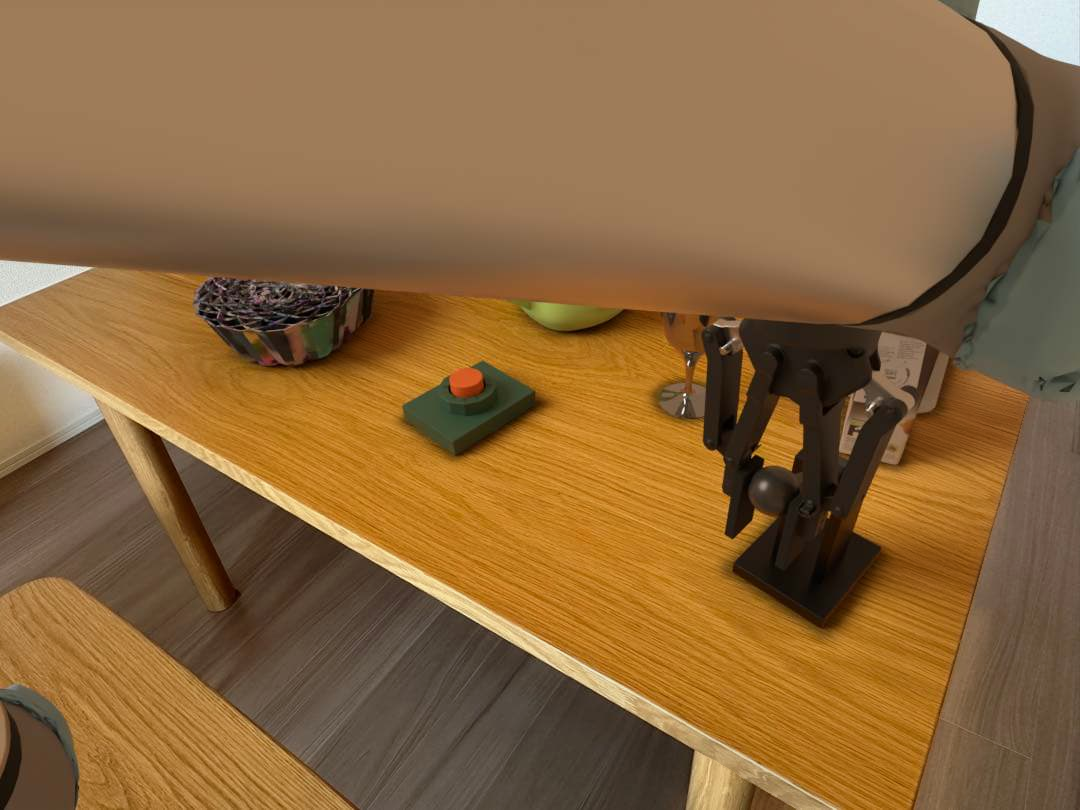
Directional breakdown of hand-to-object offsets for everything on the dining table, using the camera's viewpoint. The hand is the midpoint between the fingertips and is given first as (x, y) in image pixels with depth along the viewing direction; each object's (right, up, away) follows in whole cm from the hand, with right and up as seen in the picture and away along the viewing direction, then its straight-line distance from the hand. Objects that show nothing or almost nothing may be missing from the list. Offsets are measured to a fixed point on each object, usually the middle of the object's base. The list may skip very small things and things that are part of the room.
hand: (763, 541), depth 52 cm
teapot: (-11, +24, +52) cm, 58 cm away
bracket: (+8, -5, +13) cm, 16 cm away
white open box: (+28, +17, +39) cm, 51 cm away
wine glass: (+1, +11, +34) cm, 35 cm away
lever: (+3, +3, +2) cm, 4 cm away
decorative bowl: (-53, +22, +52) cm, 77 cm away
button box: (-25, +9, +34) cm, 44 cm away
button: (-26, +12, +32) cm, 43 cm away
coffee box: (+21, +7, +27) cm, 35 cm away
